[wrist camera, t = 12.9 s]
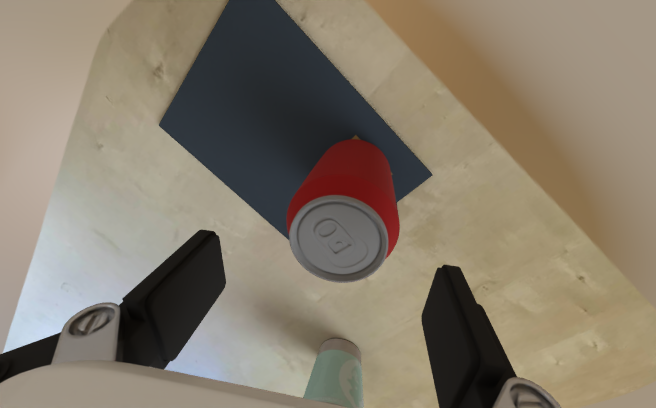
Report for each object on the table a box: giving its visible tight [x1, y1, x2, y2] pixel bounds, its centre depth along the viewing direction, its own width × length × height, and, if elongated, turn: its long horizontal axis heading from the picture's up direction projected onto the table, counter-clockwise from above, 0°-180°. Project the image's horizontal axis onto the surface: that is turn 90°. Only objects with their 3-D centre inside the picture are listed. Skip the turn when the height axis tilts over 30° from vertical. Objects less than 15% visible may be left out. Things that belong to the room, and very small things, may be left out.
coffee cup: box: [303, 339, 364, 408], centre depth 31 cm, size 8×8×12 cm
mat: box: [159, 0, 432, 240], centre depth 25 cm, size 22×16×1 cm
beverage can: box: [286, 139, 399, 283], centre depth 19 cm, size 7×7×12 cm
